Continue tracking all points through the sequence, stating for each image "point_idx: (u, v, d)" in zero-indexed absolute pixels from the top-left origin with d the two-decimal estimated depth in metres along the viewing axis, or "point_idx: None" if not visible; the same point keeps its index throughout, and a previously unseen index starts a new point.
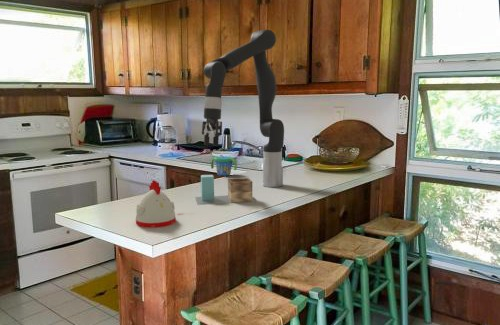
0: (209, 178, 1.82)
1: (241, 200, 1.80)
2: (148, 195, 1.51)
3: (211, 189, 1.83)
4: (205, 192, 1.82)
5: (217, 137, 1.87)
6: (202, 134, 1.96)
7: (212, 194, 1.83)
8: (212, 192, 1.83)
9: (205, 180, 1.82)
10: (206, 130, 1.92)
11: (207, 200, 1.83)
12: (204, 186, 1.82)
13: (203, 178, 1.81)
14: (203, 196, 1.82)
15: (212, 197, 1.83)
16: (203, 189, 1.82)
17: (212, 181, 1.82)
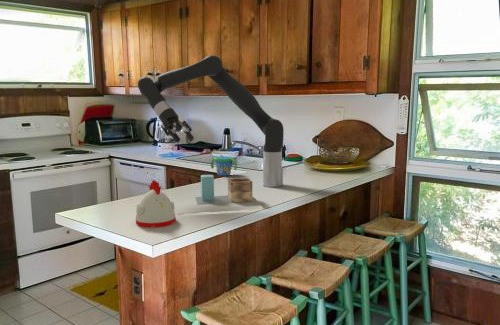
0: (209, 178, 1.82)
1: (241, 200, 1.80)
2: (148, 195, 1.51)
3: (211, 189, 1.83)
4: (205, 192, 1.82)
5: (173, 135, 1.85)
6: None
7: (212, 194, 1.83)
8: (212, 192, 1.83)
9: (205, 180, 1.82)
10: (180, 131, 1.93)
11: (207, 200, 1.83)
12: (204, 186, 1.82)
13: (203, 178, 1.81)
14: (203, 196, 1.82)
15: (212, 197, 1.83)
16: (203, 189, 1.82)
17: (212, 181, 1.82)
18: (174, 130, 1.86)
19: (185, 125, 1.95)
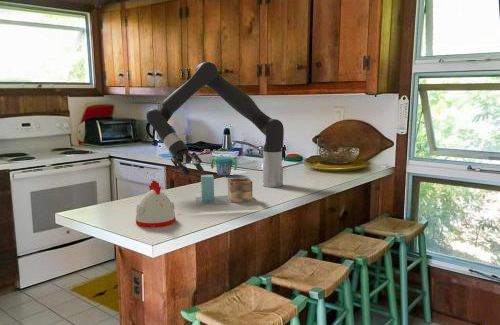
0: (209, 178, 1.82)
1: (241, 200, 1.80)
2: (148, 195, 1.51)
3: (211, 189, 1.83)
4: (205, 192, 1.82)
5: (183, 168, 1.84)
6: None
7: (212, 194, 1.83)
8: (212, 192, 1.83)
9: (205, 180, 1.82)
10: (190, 163, 1.92)
11: (207, 200, 1.83)
12: (204, 186, 1.82)
13: (203, 178, 1.81)
14: (203, 196, 1.82)
15: (212, 197, 1.83)
16: (203, 189, 1.82)
17: (212, 181, 1.82)
18: (184, 163, 1.85)
19: (195, 157, 1.94)
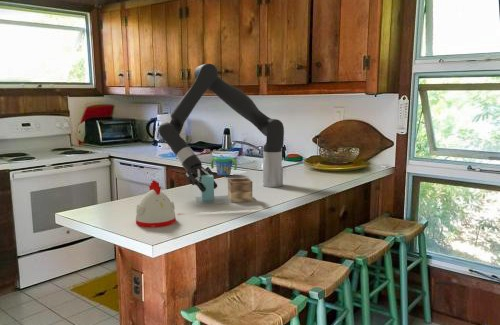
0: (209, 178, 1.82)
1: (241, 200, 1.80)
2: (148, 195, 1.51)
3: (211, 189, 1.83)
4: (205, 192, 1.82)
5: (198, 184, 1.81)
6: None
7: (212, 194, 1.83)
8: (212, 192, 1.83)
9: (205, 180, 1.82)
10: None
11: (207, 200, 1.83)
12: (204, 186, 1.82)
13: (203, 178, 1.81)
14: (203, 196, 1.82)
15: (212, 197, 1.83)
16: None
17: (212, 181, 1.82)
18: (199, 179, 1.82)
19: (208, 172, 1.90)
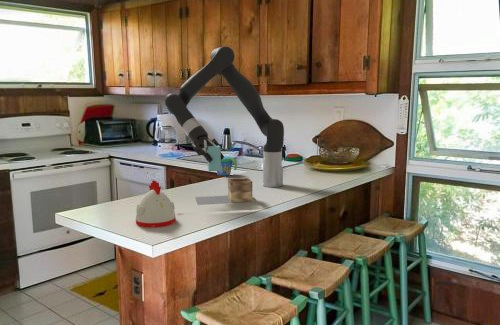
0: (216, 148, 1.80)
1: (241, 200, 1.80)
2: (148, 195, 1.51)
3: (218, 160, 1.81)
4: (212, 163, 1.81)
5: (204, 154, 1.79)
6: None
7: (219, 165, 1.81)
8: (219, 163, 1.81)
9: (212, 151, 1.80)
10: None
11: (207, 200, 1.83)
12: (211, 156, 1.80)
13: (210, 148, 1.79)
14: (210, 167, 1.81)
15: (219, 168, 1.81)
16: None
17: (219, 151, 1.80)
18: (206, 149, 1.80)
19: (215, 143, 1.89)
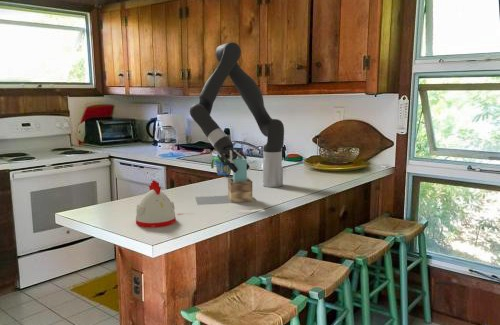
0: (242, 161, 1.80)
1: (241, 200, 1.80)
2: (148, 195, 1.51)
3: (244, 173, 1.81)
4: (238, 176, 1.81)
5: (230, 165, 1.79)
6: None
7: (245, 178, 1.82)
8: (245, 176, 1.81)
9: (238, 164, 1.80)
10: None
11: (207, 200, 1.83)
12: None
13: (236, 161, 1.80)
14: (236, 180, 1.81)
15: (245, 181, 1.82)
16: (236, 172, 1.81)
17: (245, 164, 1.81)
18: (231, 160, 1.80)
19: (240, 153, 1.89)
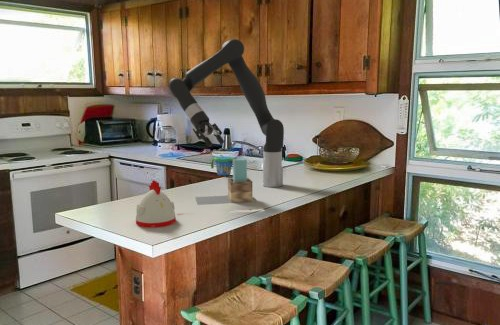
0: (242, 161, 1.80)
1: (241, 200, 1.80)
2: (148, 195, 1.51)
3: (244, 173, 1.81)
4: (238, 176, 1.81)
5: (204, 139, 1.86)
6: None
7: (245, 178, 1.82)
8: (245, 176, 1.81)
9: (238, 164, 1.80)
10: (210, 134, 1.94)
11: (207, 200, 1.83)
12: (237, 169, 1.80)
13: (236, 161, 1.80)
14: (236, 180, 1.81)
15: (245, 181, 1.82)
16: (236, 172, 1.81)
17: (245, 164, 1.81)
18: (206, 134, 1.87)
19: (215, 128, 1.96)
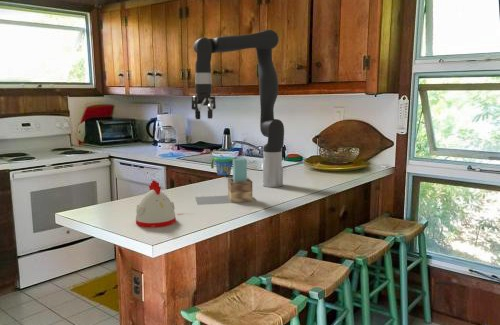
0: (242, 161, 1.80)
1: (241, 200, 1.80)
2: (148, 195, 1.51)
3: (244, 173, 1.81)
4: (238, 176, 1.81)
5: (196, 111, 1.96)
6: None
7: (245, 178, 1.82)
8: (245, 176, 1.81)
9: (238, 164, 1.80)
10: None
11: (207, 200, 1.83)
12: (237, 169, 1.80)
13: (236, 161, 1.80)
14: (236, 180, 1.81)
15: (245, 181, 1.82)
16: (236, 172, 1.81)
17: (245, 164, 1.81)
18: (200, 107, 1.96)
19: (212, 101, 2.04)
